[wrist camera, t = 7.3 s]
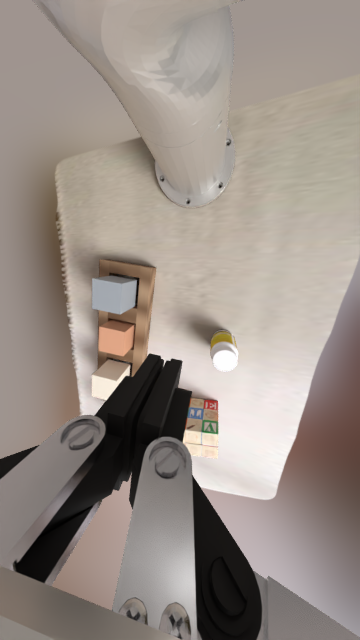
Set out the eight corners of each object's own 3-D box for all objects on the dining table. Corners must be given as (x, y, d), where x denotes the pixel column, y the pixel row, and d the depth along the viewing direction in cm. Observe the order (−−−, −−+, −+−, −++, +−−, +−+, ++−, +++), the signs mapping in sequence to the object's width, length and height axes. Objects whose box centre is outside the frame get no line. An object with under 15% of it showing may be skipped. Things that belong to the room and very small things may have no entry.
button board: (107, 259, 38) (98, 259, 35) (156, 267, 37) (150, 268, 34) (104, 377, 47) (96, 386, 44) (143, 387, 46) (137, 396, 43)
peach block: (115, 317, 41) (99, 326, 35) (137, 322, 40) (124, 332, 35) (114, 338, 43) (98, 350, 37) (135, 343, 42) (123, 356, 36)
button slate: (111, 275, 36) (92, 278, 30) (136, 280, 35) (122, 283, 30) (110, 301, 38) (92, 308, 32) (134, 306, 37) (120, 314, 31)
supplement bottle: (206, 338, 40) (203, 358, 32) (224, 324, 38) (226, 341, 30) (221, 355, 40) (222, 378, 32) (239, 342, 39) (246, 363, 31)
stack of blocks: (218, 399, 44) (219, 450, 32) (217, 421, 46) (218, 477, 34) (129, 390, 47) (101, 432, 36) (132, 411, 49) (106, 457, 38)
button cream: (108, 359, 42) (91, 374, 36) (130, 364, 41) (116, 381, 36) (107, 378, 43) (91, 396, 38) (128, 383, 43) (115, 402, 37)
